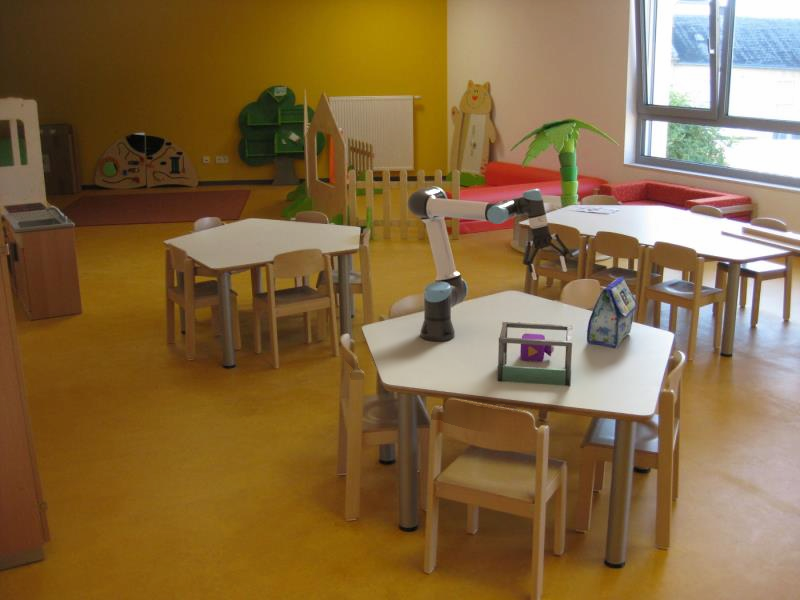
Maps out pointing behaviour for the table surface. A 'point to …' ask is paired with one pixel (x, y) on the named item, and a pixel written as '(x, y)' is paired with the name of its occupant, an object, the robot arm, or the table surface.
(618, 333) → the lunch bag
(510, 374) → the frame
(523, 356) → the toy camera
